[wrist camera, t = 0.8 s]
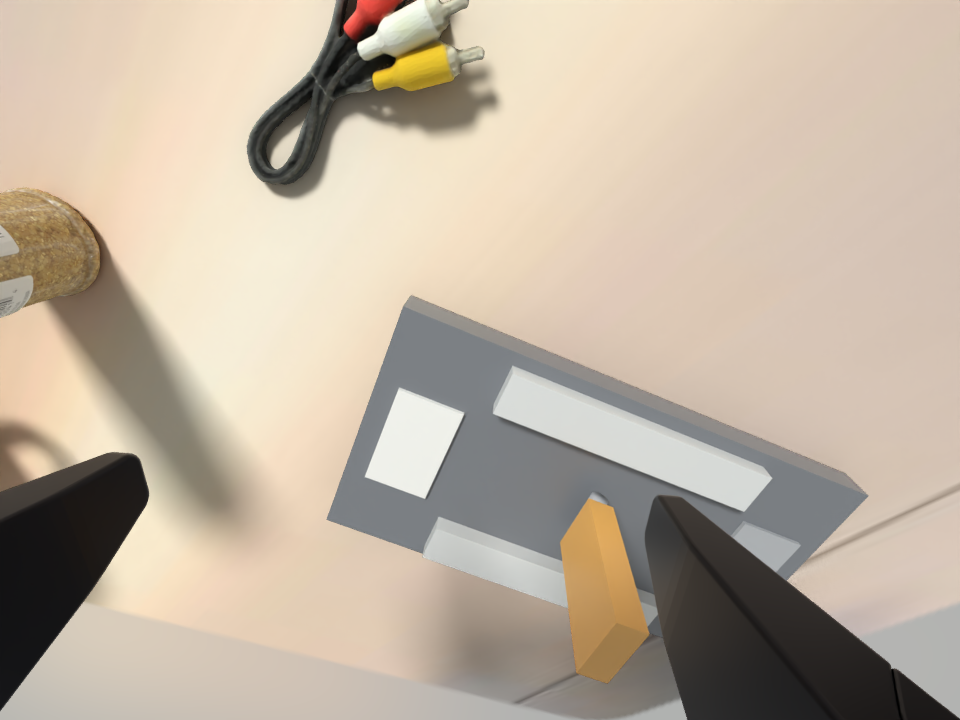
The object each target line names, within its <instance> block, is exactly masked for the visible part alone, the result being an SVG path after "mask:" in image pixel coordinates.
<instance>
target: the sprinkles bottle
mask: <svg viewBox="0 0 960 720" xmlns="http://www.w3.org/2000/svg"><path fill="white" fill-rule="evenodd" d="M99 268H100V252H99V245H98V243H97V241H96V239H95V237H94V234H93V232H92V231H91V229H90V228H89V226H88V225H87V224H86V222H85V221H84V220H83V219H82V217H81V216H80V214H79V213H78V212H76V211H75V210H74V209H73V208H72V207H71V206H70V205H69V204H67V203H66V202H64V201H62V200H61V199H60V198H57V197H55V196H52V195H51V194H49V193H47V192H43V191H40V190H37V189H30V188H17V189H11V190H7V191H5V192H3V193H0V318H1V317H4V316H7V315H10V314H12V313H15V312H17V311H18V310H20V309H21V308H23V307H26V306H29V305H32V304H35V303H38V302H42V301H45V300H48V299H51V298H53V297H56V296H68V295H74V294H76V293H79V292H82V291H84V290H85V289H87V288H88V287H89V286H90V285H91V284H92V283H93V282H94V281H95V279H96V277H97V274H98V272H99Z"/></svg>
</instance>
